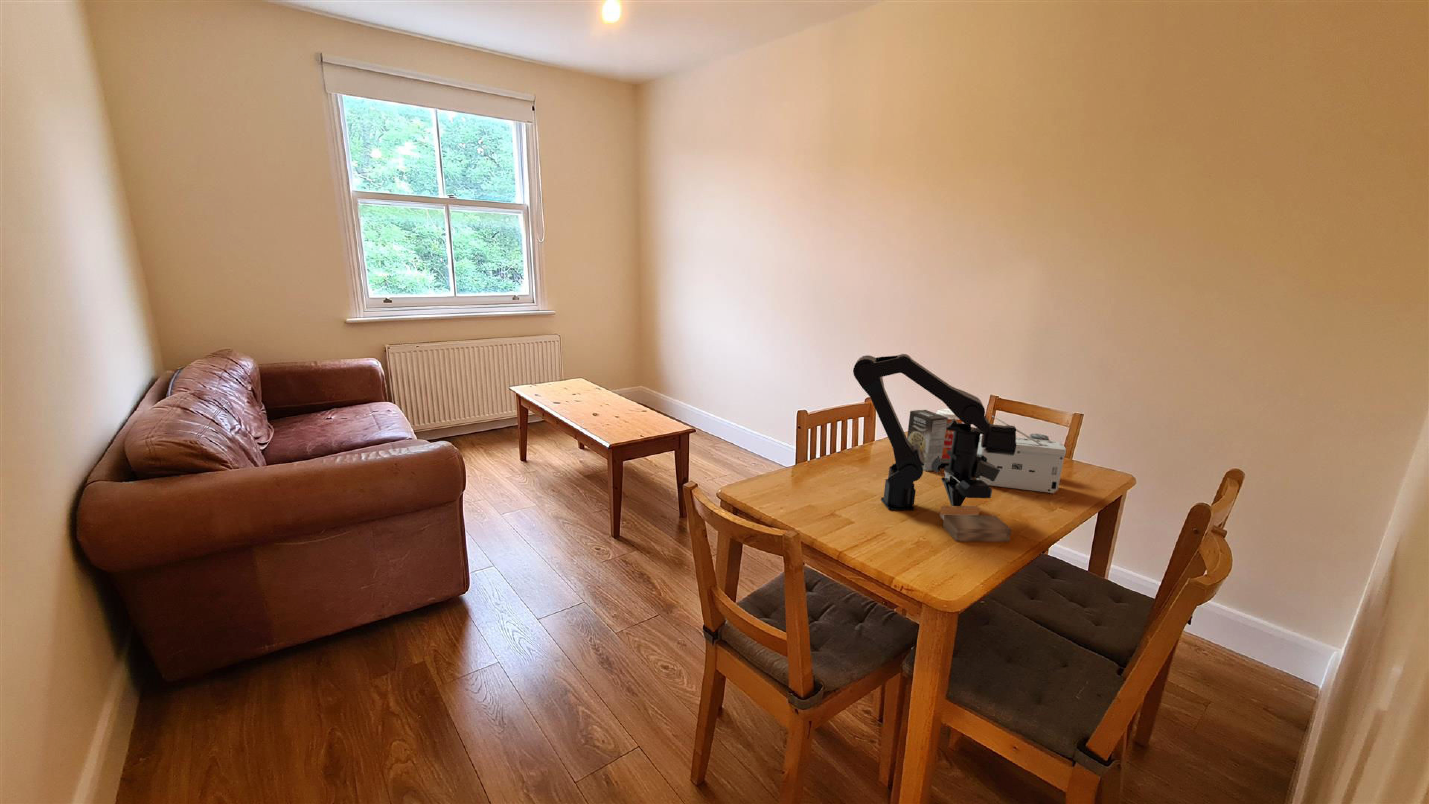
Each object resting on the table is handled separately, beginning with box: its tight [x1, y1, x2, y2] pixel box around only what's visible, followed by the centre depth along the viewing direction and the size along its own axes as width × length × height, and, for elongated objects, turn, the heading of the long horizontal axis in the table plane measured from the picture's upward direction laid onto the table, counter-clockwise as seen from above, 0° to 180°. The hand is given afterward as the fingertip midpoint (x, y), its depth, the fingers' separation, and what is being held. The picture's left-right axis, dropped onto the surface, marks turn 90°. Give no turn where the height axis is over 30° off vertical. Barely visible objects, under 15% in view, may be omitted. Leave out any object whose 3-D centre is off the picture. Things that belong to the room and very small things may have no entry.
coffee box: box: [906, 409, 948, 472], centre depth 170 cm, size 9×6×16 cm
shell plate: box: [939, 505, 981, 521], centre depth 133 cm, size 9×8×3 cm
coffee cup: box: [935, 408, 963, 459], centre depth 177 cm, size 8×8×15 cm
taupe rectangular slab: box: [942, 514, 1012, 543], centre depth 128 cm, size 12×7×3 cm, turn 92°
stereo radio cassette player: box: [975, 415, 1067, 494], centre depth 156 cm, size 21×8×20 cm, turn 74°
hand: (955, 510), depth 138 cm, fingers closed
